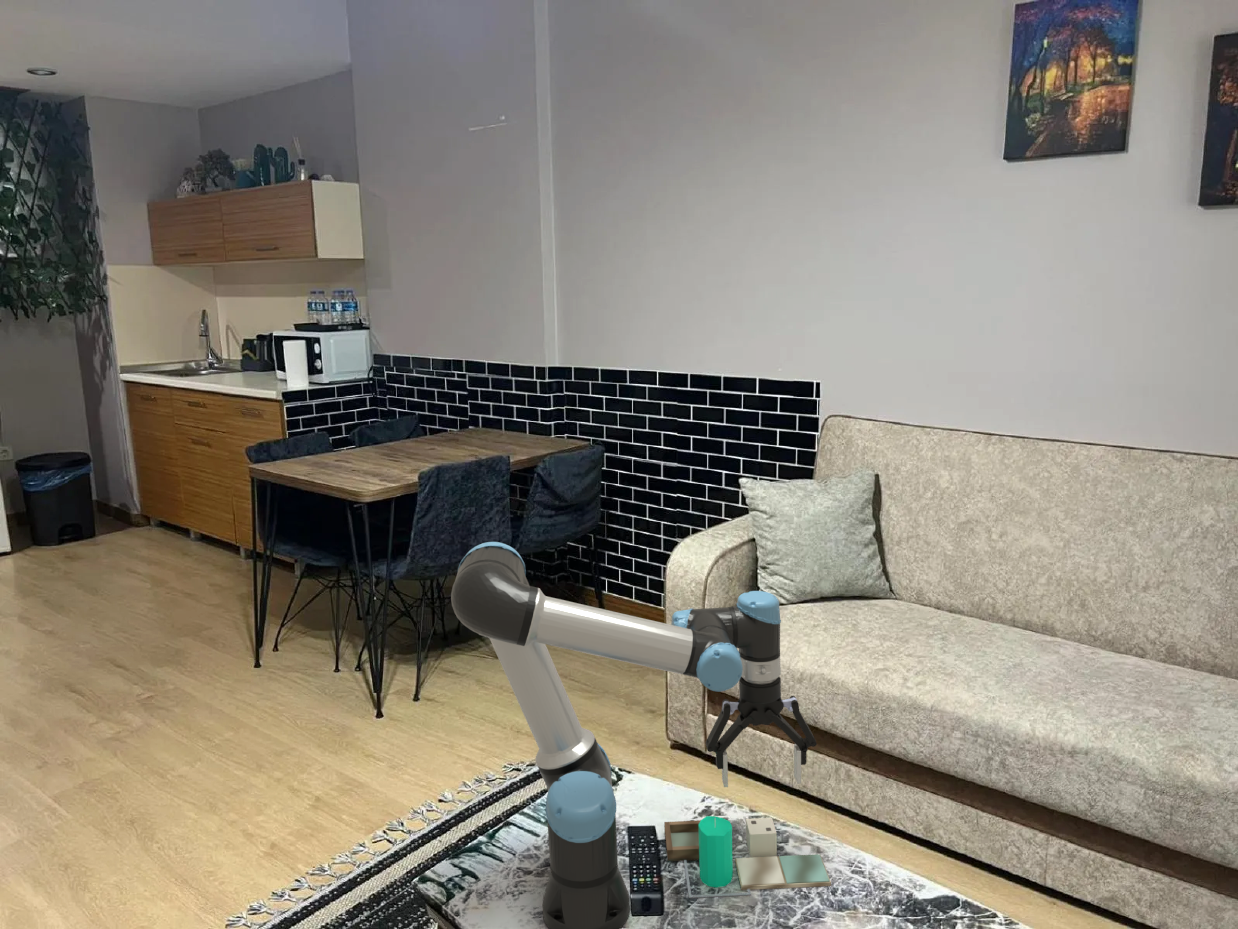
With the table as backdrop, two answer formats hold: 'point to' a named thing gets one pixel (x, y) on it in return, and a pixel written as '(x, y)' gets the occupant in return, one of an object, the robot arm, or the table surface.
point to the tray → (682, 840)
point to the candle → (715, 851)
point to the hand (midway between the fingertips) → (761, 781)
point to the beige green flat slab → (782, 872)
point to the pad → (711, 894)
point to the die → (761, 837)
